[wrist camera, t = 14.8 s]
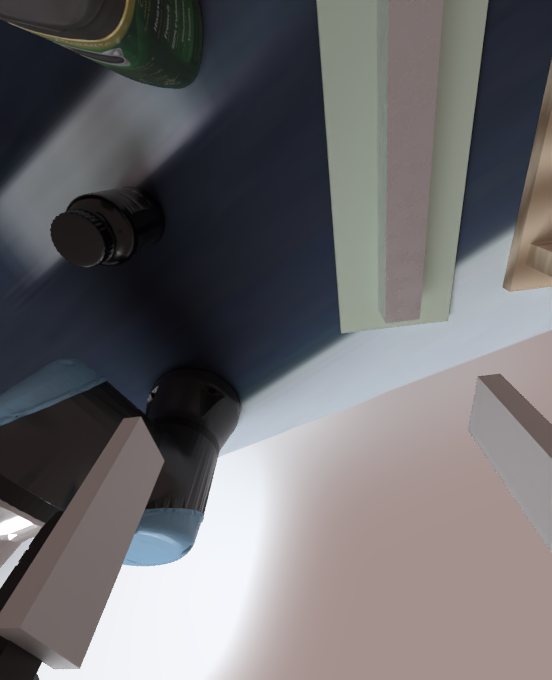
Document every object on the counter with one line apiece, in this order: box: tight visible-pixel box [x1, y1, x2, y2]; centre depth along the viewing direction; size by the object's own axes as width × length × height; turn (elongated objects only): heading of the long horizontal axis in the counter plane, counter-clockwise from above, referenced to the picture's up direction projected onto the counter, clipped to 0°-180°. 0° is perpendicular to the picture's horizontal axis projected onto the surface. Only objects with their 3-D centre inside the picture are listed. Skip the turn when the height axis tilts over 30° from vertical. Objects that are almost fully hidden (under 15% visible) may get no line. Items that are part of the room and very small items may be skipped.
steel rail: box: [377, 0, 444, 323], centre depth 30 cm, size 34×4×4 cm, turn 10°
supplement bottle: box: [50, 187, 165, 268], centre depth 32 cm, size 7×7×12 cm
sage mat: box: [316, 0, 488, 333], centre depth 32 cm, size 40×14×1 cm, turn 10°
